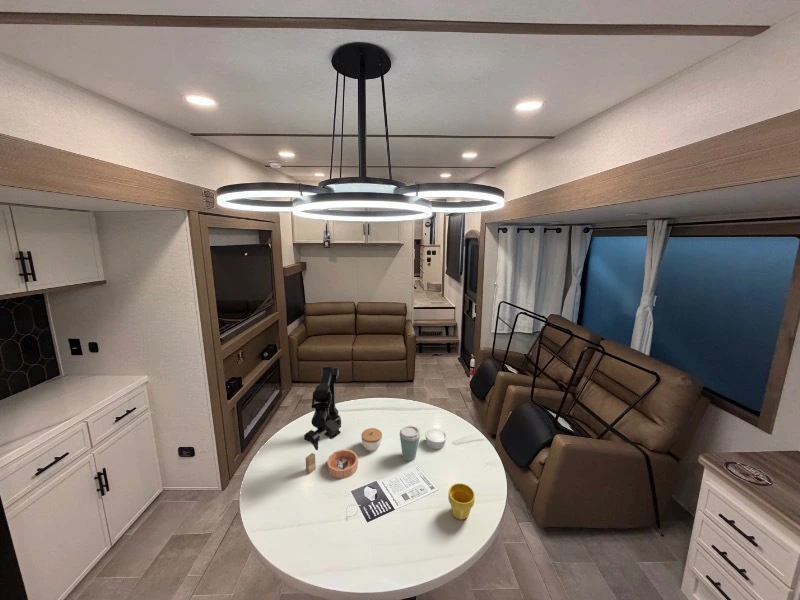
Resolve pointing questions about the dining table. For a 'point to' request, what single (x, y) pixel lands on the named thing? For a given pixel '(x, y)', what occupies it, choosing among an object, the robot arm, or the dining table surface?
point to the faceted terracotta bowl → (347, 455)
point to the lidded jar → (371, 438)
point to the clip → (341, 464)
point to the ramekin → (435, 438)
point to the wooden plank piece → (310, 463)
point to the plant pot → (461, 500)
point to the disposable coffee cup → (409, 442)
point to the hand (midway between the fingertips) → (323, 444)
